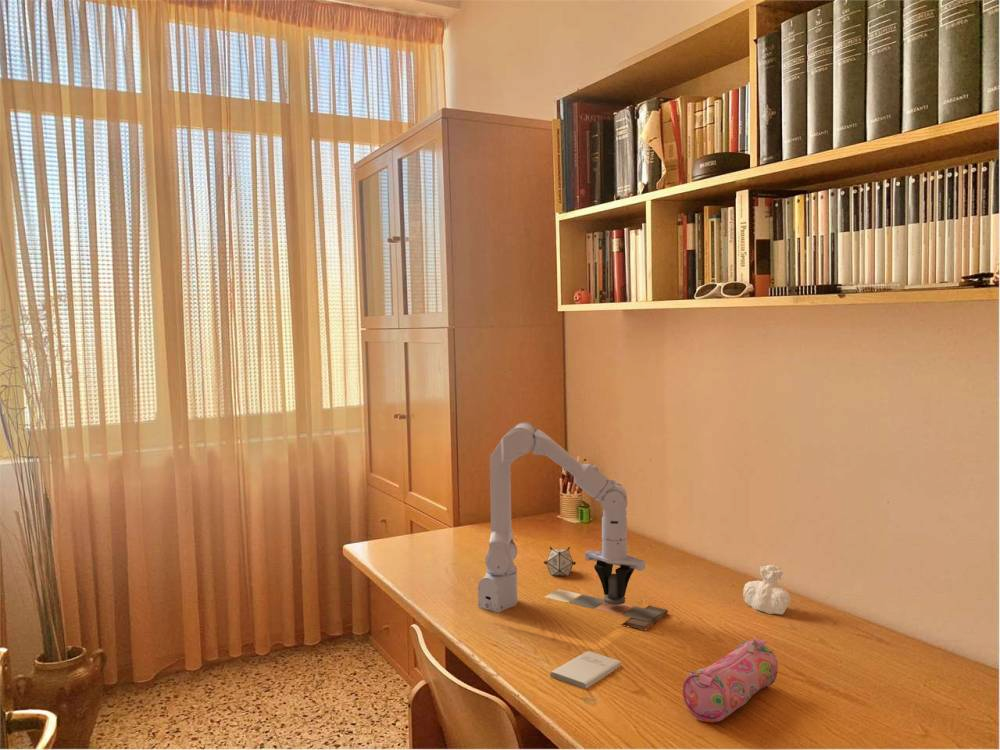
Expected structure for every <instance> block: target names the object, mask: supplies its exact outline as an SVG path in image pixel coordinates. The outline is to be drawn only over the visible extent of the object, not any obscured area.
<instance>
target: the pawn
mask: <svg viewBox="0 0 1000 750" xmlns="http://www.w3.org/2000/svg"><path fill="white" fill-rule="evenodd" d="M603 599H604V601H605V602H606V603H608V604H612V605H619V604H626V596H624V597H622V598H618V581H617V575H616V573H612V574H611V575H610V576H609V577H608V595H604V597H603ZM605 602H604V603H605Z"/></svg>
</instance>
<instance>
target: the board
mask: <svg viewBox="0 0 1000 750" xmlns="http://www.w3.org/2000/svg"><path fill="white" fill-rule="evenodd" d="M544 598H546V599H550V600H554V601H558V602H564V603H569V604H573V605H577V606H580V607H584V608H589V609H594V610H597V611H601V612H607V613H610V614H611V613H612V614H615V615H619V616H623V617H629V619H628V620H626V621H624V622H623V623H622V624H621V626H622V625H625V626H624V627H626V626H629V627H628V628H630V627H634V628H633V629H635V628H638V629H637V630H639V629H642V630H641V631H643V630H645V629H647V628H648V627H649V628H651V627H652V626H653V625H655V624H656V623H657V622H659V621H660V620H662V619H663V618H664V617H665V615H666V614H667V613H669V612H668V610H669V609H666V608H663V607H662V608H661V607H657V606H653V605H647V607H645V608H644V607H639V606H634V605H632V604H627V603H623V604H619V605H612V604H608V603H606V602H605V601H604V598H600V597H595V596H591V595H587V594H581V593H577V592H573V591H569V590H564V589H559V588H558V589H556V590H555V591H553V592H550V593H549V594H547V595H545V596H544ZM667 615H668V614H667ZM667 615H666V616H667ZM663 616H664V617H663ZM662 617H663V618H662ZM661 618H662V619H661ZM659 619H660V620H659ZM658 620H659V621H658ZM656 621H657V622H656ZM655 622H656V623H655ZM654 623H655V624H654ZM652 624H653V625H652ZM651 625H652V626H651ZM650 626H651V627H650ZM649 628H648V629H649ZM648 629H647V630H648ZM645 631H646V630H645Z"/></svg>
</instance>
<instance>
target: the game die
mask: <svg viewBox="0 0 1000 750" xmlns="http://www.w3.org/2000/svg"><path fill="white" fill-rule="evenodd" d="M570 548H571V547H570V546H568V547H567V549H565V548H563V549H562V548H561V549H560V548H553V547H552V546H549V550H550V551H549V553H548V557H547V559H546V560H544V561H543V564H544V565H546V566H547V569H548V572H549V574H550V576H553V577H554V576H561V577H562V576H563V577H564V576H570V574H571V571H572V569H573V566H574V565H576V564H577V562H576V561H573V557H572V556H571V553H570Z"/></svg>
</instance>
